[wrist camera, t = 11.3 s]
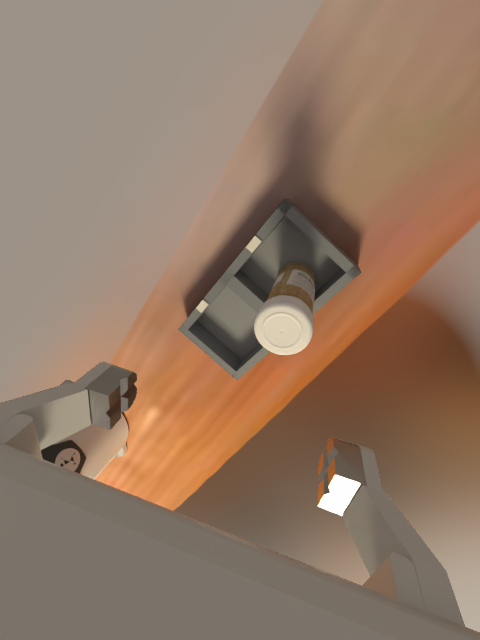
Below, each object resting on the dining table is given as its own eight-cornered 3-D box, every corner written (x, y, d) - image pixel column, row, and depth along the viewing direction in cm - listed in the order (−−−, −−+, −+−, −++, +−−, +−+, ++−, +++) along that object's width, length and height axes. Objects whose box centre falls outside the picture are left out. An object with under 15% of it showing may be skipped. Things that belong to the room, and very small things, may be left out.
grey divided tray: (243, 366, 40) (236, 381, 37) (189, 318, 40) (177, 330, 36) (357, 264, 31) (361, 272, 27) (288, 198, 30) (284, 199, 27)
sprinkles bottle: (271, 272, 33) (241, 317, 21) (306, 254, 31) (295, 293, 19) (288, 304, 34) (269, 364, 22) (323, 289, 32) (323, 345, 20)
